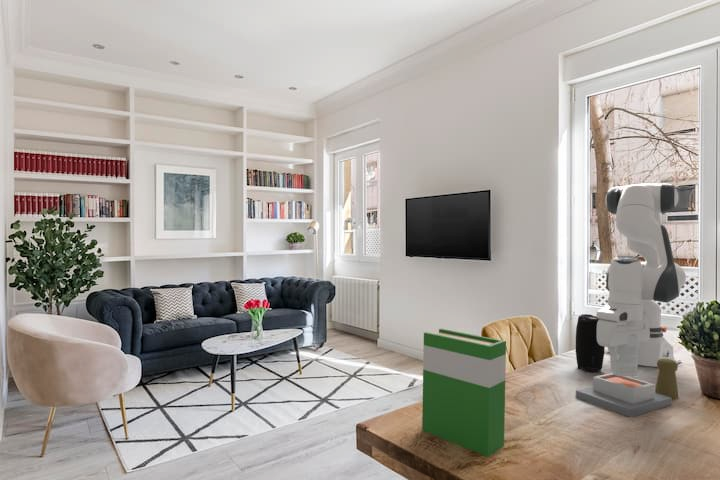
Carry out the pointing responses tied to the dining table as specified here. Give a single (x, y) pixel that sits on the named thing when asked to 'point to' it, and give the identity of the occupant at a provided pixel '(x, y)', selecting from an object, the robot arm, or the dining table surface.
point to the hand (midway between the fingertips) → (623, 358)
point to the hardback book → (464, 389)
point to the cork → (667, 378)
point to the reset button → (624, 382)
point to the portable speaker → (588, 344)
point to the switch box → (623, 395)
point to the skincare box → (626, 359)
